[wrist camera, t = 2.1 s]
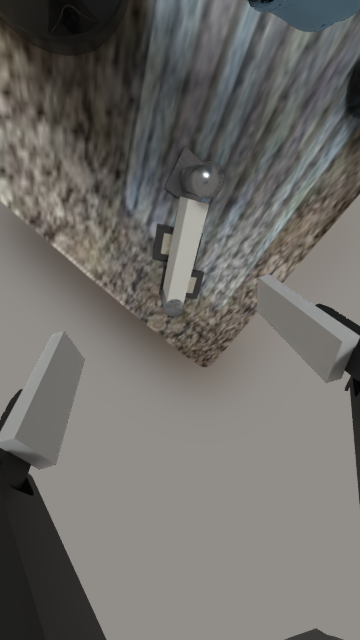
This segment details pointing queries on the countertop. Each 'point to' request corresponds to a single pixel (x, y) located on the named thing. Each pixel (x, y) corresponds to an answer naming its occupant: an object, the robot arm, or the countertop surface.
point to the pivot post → (195, 177)
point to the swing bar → (182, 253)
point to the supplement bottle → (354, 93)
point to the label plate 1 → (164, 242)
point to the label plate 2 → (193, 283)
